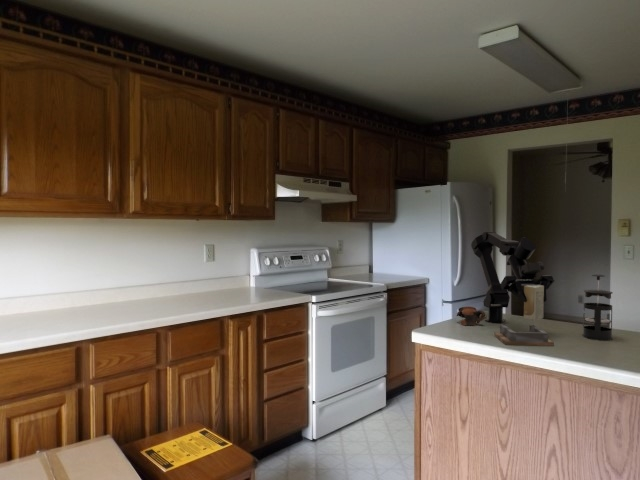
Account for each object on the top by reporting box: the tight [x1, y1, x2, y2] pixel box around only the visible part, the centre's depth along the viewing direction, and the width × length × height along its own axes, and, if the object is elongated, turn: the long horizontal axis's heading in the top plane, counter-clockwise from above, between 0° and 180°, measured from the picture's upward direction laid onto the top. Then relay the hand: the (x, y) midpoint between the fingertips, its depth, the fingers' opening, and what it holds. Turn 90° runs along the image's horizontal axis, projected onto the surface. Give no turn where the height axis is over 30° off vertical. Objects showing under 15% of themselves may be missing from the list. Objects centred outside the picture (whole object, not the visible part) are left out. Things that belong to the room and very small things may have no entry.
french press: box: [582, 274, 613, 341], centre depth 167 cm, size 12×9×23 cm
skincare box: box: [523, 284, 545, 321], centre depth 167 cm, size 6×4×12 cm
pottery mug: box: [456, 306, 486, 326], centre depth 190 cm, size 12×10×8 cm
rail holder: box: [493, 324, 555, 347], centre depth 162 cm, size 13×16×4 cm
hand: (535, 301), depth 166 cm, fingers closed on skincare box, 7 cm apart
